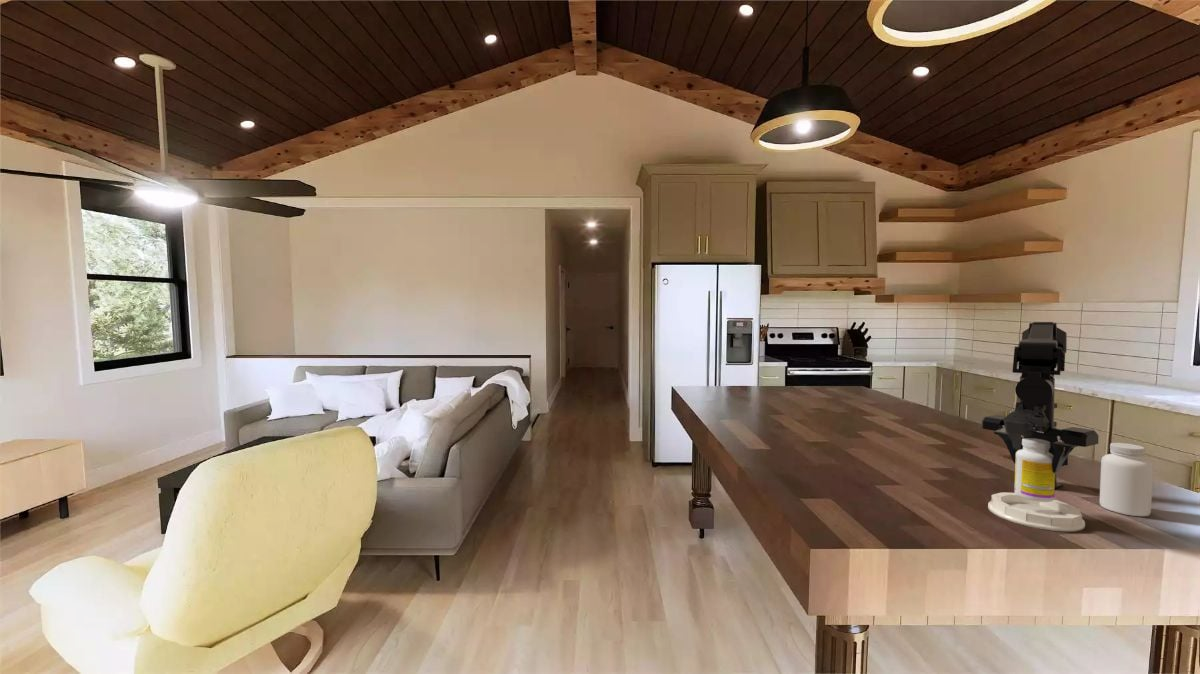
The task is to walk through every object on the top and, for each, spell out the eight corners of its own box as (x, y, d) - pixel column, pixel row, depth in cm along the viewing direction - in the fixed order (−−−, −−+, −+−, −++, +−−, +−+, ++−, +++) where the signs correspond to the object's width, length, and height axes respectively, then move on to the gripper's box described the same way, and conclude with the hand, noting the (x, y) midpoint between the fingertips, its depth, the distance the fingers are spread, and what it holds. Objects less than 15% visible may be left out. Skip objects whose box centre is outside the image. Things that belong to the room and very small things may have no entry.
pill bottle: (1144, 520, 104) (1146, 452, 103) (1093, 507, 111) (1095, 443, 111) (1157, 513, 108) (1159, 447, 107) (1107, 501, 115) (1108, 439, 114)
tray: (1011, 498, 118) (1012, 487, 117) (1100, 523, 103) (1100, 511, 103) (972, 509, 111) (972, 498, 111) (1061, 537, 96) (1061, 524, 96)
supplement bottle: (1062, 504, 103) (1065, 445, 102) (1026, 502, 104) (1029, 444, 104) (1040, 492, 110) (1042, 437, 109) (1007, 490, 111) (1009, 436, 110)
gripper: (967, 395, 111) (966, 461, 112) (1072, 408, 94) (1070, 487, 95) (995, 391, 116) (994, 455, 116) (1100, 403, 99) (1098, 478, 99)
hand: (1035, 467), depth 107 cm, fingers closed on supplement bottle, 7 cm apart
